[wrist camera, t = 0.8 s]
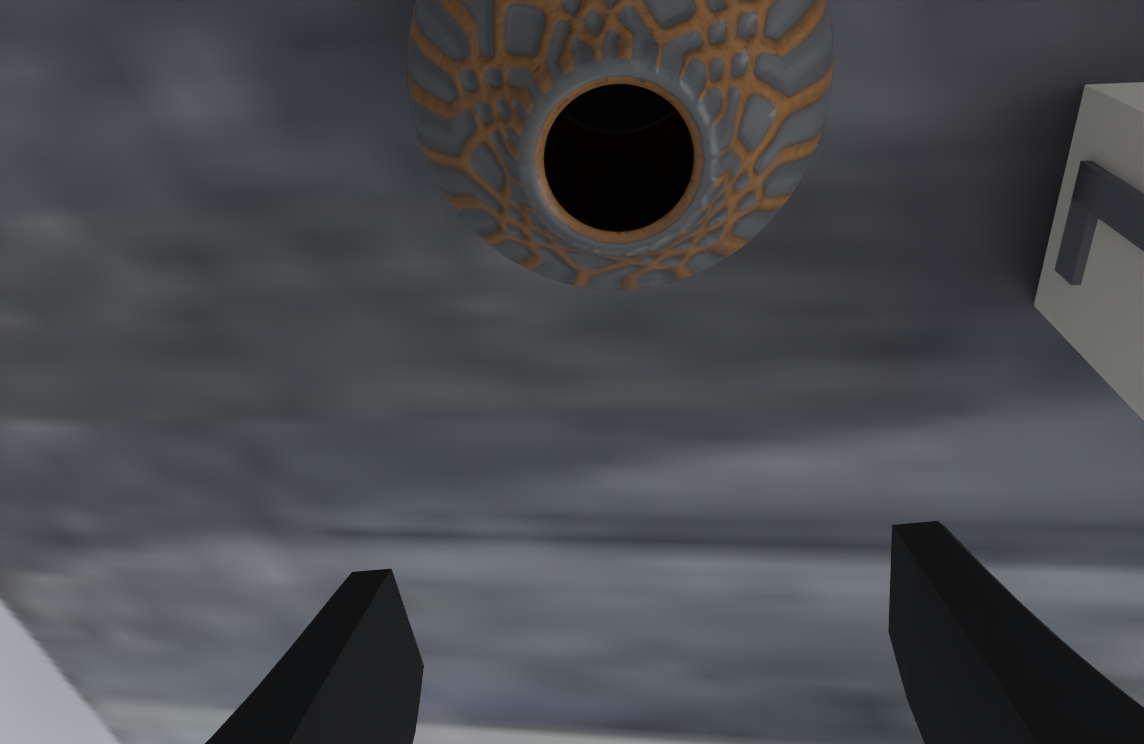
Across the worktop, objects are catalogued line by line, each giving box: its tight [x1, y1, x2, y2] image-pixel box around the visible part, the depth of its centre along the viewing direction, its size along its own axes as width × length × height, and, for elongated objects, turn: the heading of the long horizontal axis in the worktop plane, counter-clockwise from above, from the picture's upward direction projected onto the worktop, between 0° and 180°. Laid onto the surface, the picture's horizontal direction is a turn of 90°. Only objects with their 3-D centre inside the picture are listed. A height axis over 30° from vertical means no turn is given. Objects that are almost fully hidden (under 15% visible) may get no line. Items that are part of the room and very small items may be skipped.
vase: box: [407, 0, 833, 290], centre depth 14 cm, size 7×7×9 cm
